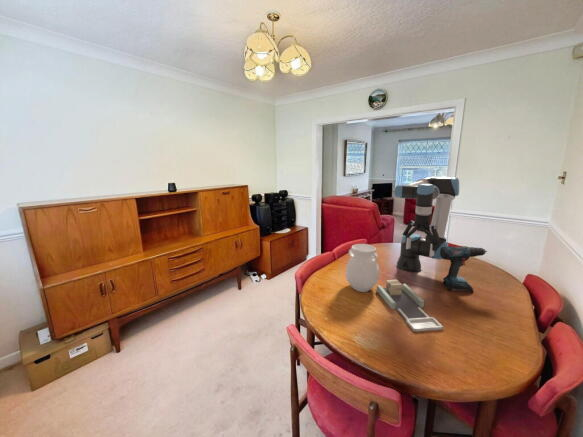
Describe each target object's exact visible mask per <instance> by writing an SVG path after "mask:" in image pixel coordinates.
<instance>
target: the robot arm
mask: <svg viewBox="0 0 583 437" xmlns="http://www.w3.org/2000/svg"><path fill="white" fill-rule="evenodd" d="M393 194H394V197H395V198H398V199H411V200H416V201H415V214H414V220H409V221H408V225H407V226H406V228H405V230H404V231H403V232H402V236H401V241H400V254H399V257H398V259H397V261H396V267H397V269H399V270H401V271H405V272H409V273H417V272H420V271H422V265H421V264H422V263H421V261H420V257H426V258H431V259H435V260H444V259H443V258H441V256H440V250H441V248H442V247H449V242H448V241H447V238H446V237H445V233H446V229H447V223H448V220H449V215H450V209H451V206H452V202H453V200H455V199H456V197H458V196H459V195H460V180H459V178H458V177H455V176H453V177H452V176H427V177H423V178H419V179H417V180H416V181H415V182H412V183H408V184H396V186H395V187H394V192H393ZM434 200H435V204H434V209H433V201H434ZM432 210H433V212H432ZM413 225H414V227H413ZM417 231H418V232H422V233H424V234H425V237H422V235H421V234H419V233H415V232H417Z"/></svg>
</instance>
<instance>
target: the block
mask: <svg viewBox="0 0 583 437" xmlns="http://www.w3.org/2000/svg"><path fill="white" fill-rule="evenodd" d="M402 284H403V283H401V282H400V281H399V280H398V279H387V280H386V282H385V288H386V291H387V292H388V293H389V294H390V295H401V293H402Z"/></svg>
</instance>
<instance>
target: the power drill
mask: <svg viewBox="0 0 583 437" xmlns="http://www.w3.org/2000/svg"><path fill="white" fill-rule="evenodd" d="M487 252H488V251H487V250H486V249H484V248H482V247H472V246H471V247H469V246H466V245H460V246H452V245H448V247H442V248H441V250H440V256H441V258H443V259H442V260H446V261H450V264H449V265H450V266H449V269H448V273H447V274H446V276H444V277H443V281H442V285H443V286H444V288H445V289H446V290H447V291H455V292H466V293H467V292H469V293H474V288H473V287H472V285H471V284H470V283H469V282H468V281H467V279H466V278H465V277H463V276H461V275H458V274H459V270H460V268H461V267H462V266H463V267H464V266H466V263H465V262H466V261H468V260H469V258H475V257H479V256H484V255H485V254H487Z"/></svg>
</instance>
